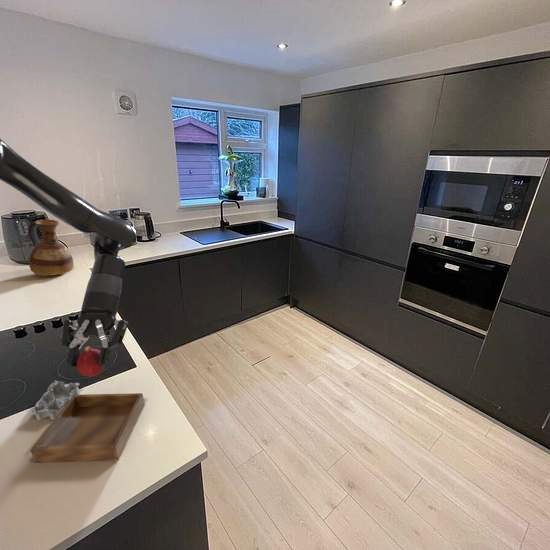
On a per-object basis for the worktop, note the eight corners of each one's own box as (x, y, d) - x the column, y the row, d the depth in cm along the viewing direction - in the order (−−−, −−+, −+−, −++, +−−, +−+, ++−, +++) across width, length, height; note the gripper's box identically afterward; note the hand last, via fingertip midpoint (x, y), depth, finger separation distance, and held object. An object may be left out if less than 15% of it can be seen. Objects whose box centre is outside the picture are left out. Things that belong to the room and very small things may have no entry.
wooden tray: (35, 463, 62) (29, 450, 61) (77, 405, 77) (73, 394, 75) (118, 460, 63) (115, 447, 62) (144, 404, 78) (142, 393, 76)
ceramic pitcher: (59, 280, 154) (44, 224, 143) (22, 279, 154) (4, 223, 143) (83, 267, 172) (71, 217, 161) (50, 266, 172) (35, 216, 161)
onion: (113, 373, 68) (107, 345, 65) (88, 388, 64) (79, 359, 61) (101, 364, 71) (94, 337, 68) (76, 377, 67) (67, 349, 64)
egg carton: (59, 389, 82) (55, 378, 80) (85, 390, 82) (82, 378, 80) (29, 421, 72) (24, 408, 70) (59, 421, 72) (55, 409, 70)
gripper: (63, 290, 67) (42, 365, 61) (126, 290, 68) (112, 364, 61) (81, 299, 74) (64, 368, 68) (138, 299, 75) (126, 367, 68)
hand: (87, 365), depth 65 cm, fingers closed on onion, 5 cm apart
